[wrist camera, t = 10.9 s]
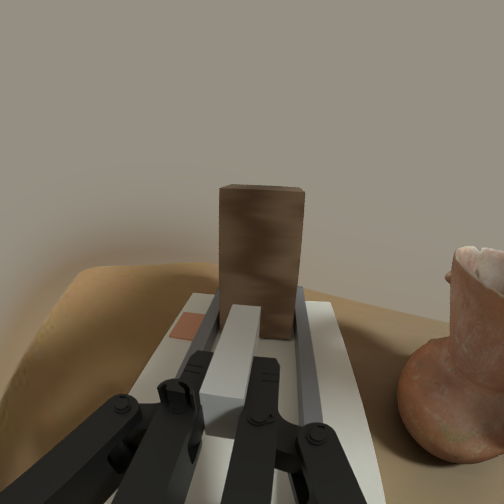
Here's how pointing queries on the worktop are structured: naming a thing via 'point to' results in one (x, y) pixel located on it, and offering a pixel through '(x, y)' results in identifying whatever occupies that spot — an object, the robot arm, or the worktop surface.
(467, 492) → the worktop surface
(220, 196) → the slider
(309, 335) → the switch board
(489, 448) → the ceramic jug
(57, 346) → the worktop surface
